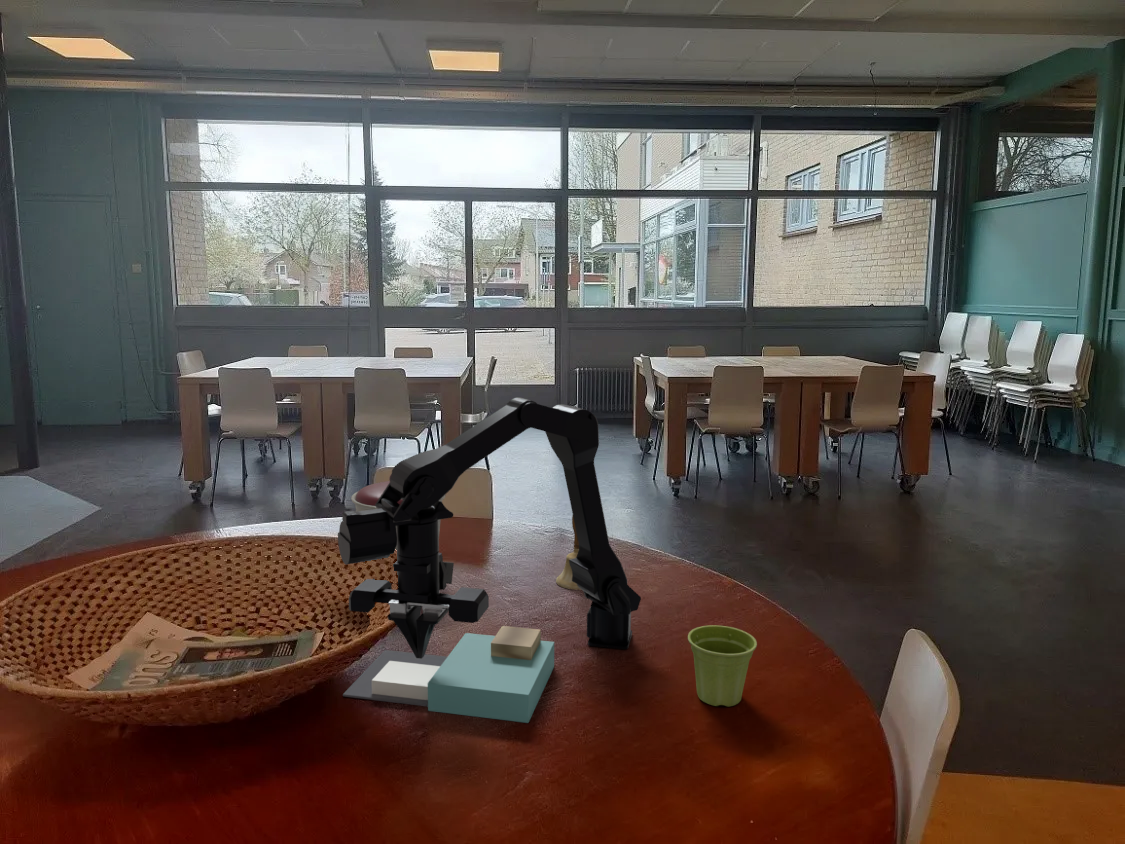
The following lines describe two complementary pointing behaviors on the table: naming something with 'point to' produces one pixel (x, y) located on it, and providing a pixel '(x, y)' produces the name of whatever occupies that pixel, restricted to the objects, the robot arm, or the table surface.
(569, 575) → the hand bell
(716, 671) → the plant pot
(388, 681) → the white box
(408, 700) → the mat
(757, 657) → the table surface
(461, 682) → the plate
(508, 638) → the oak tile
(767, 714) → the table surface
